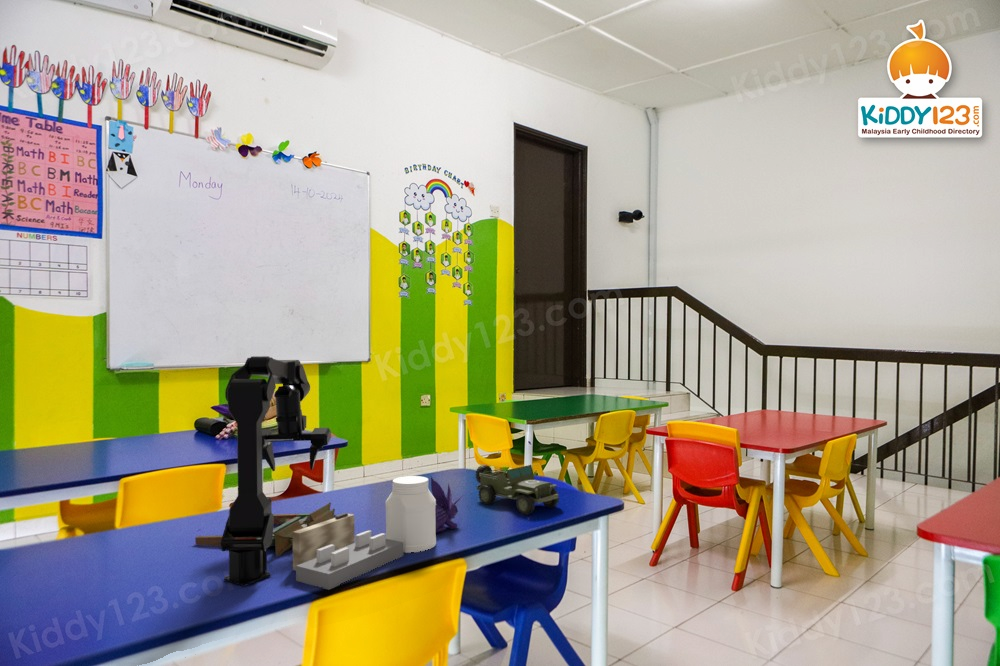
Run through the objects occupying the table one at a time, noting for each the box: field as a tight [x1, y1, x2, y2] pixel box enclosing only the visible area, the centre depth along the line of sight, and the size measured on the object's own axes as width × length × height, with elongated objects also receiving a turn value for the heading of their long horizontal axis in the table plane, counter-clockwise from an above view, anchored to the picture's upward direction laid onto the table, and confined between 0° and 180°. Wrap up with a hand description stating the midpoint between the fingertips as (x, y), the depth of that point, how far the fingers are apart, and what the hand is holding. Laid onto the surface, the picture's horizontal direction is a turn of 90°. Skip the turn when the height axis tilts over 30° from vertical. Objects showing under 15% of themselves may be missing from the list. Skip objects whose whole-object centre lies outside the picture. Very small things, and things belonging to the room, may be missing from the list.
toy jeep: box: [474, 464, 560, 516], centre depth 188 cm, size 12×25×11 cm, turn 45°
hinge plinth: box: [295, 529, 404, 591], centre depth 138 cm, size 22×9×6 cm, turn 149°
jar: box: [384, 475, 437, 554], centre depth 153 cm, size 12×10×15 cm
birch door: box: [292, 512, 356, 572], centre depth 143 cm, size 16×2×9 cm, turn 149°
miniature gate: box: [194, 502, 337, 557], centre depth 160 cm, size 27×6×30 cm
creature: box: [430, 476, 464, 534], centre depth 165 cm, size 9×18×12 cm, turn 135°
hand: (292, 470), depth 164 cm, fingers open, 9 cm apart
